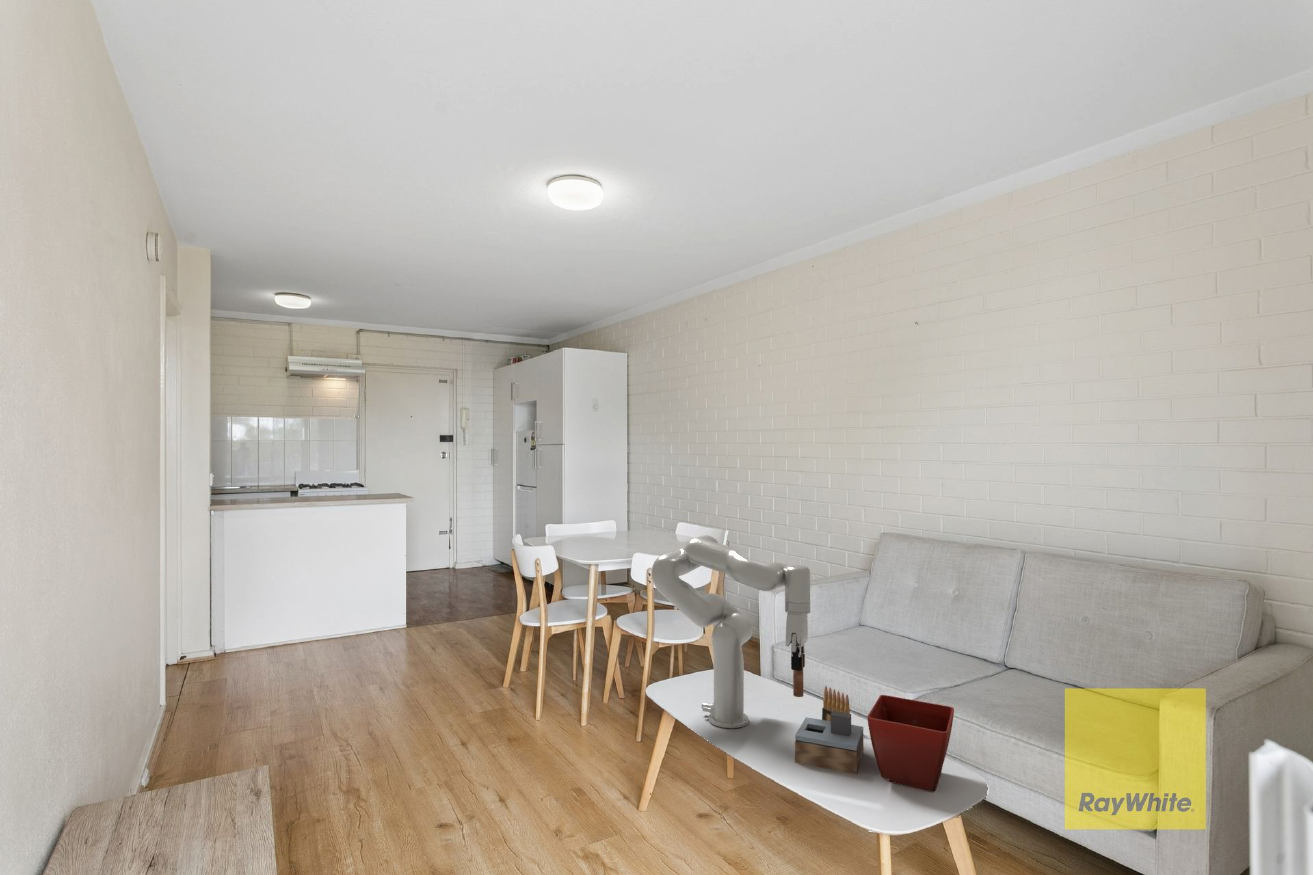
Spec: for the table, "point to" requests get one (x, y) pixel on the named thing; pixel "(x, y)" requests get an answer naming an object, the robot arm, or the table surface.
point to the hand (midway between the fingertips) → (798, 667)
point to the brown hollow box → (828, 755)
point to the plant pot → (910, 740)
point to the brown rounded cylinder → (798, 681)
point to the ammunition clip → (834, 703)
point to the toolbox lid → (831, 731)
